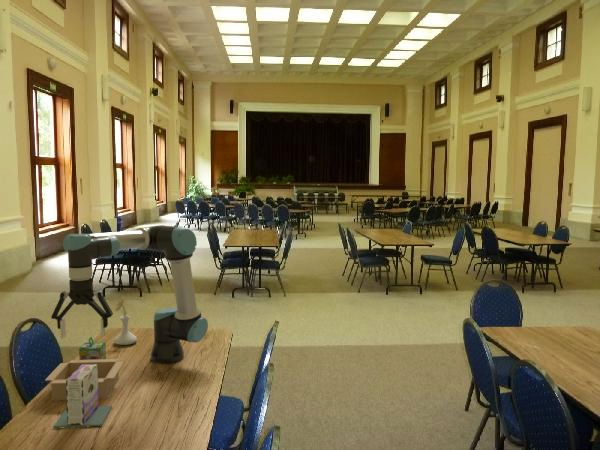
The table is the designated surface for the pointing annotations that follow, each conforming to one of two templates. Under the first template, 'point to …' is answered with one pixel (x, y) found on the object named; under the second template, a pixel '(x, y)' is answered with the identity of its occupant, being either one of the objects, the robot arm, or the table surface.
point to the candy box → (82, 394)
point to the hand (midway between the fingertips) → (83, 336)
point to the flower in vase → (124, 328)
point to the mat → (93, 420)
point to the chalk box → (92, 350)
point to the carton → (58, 377)
